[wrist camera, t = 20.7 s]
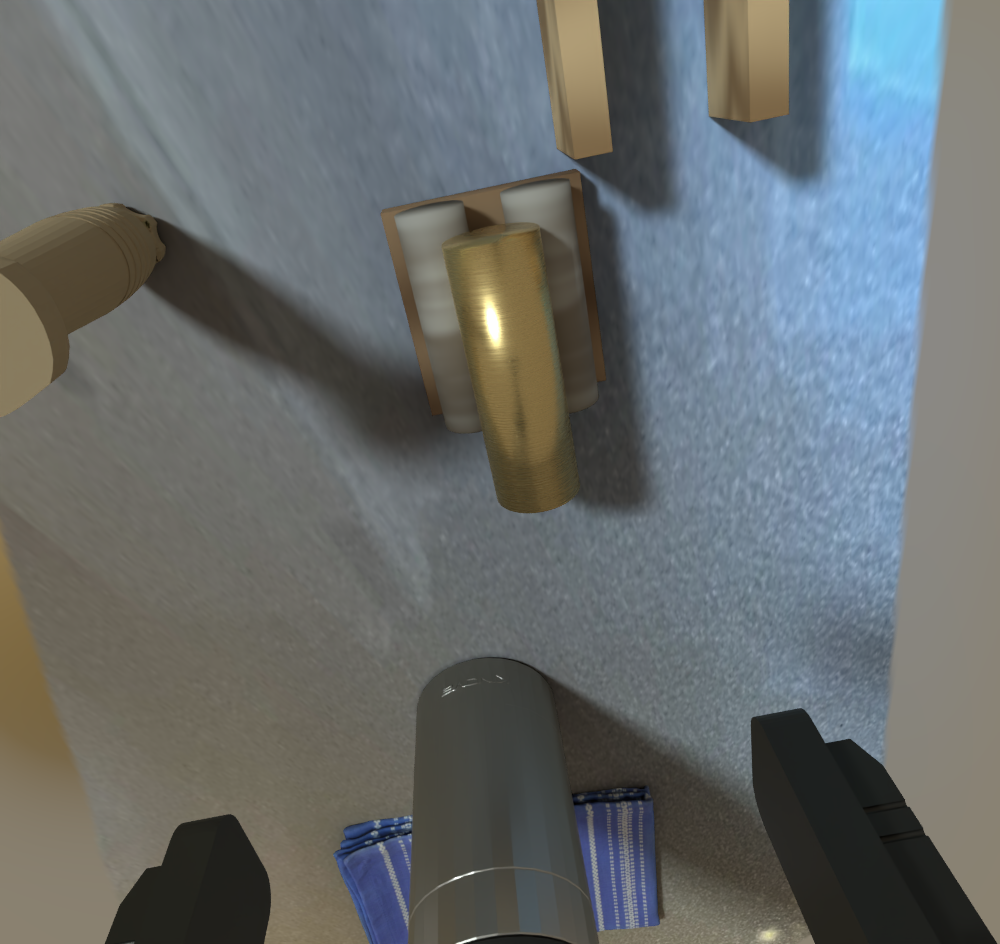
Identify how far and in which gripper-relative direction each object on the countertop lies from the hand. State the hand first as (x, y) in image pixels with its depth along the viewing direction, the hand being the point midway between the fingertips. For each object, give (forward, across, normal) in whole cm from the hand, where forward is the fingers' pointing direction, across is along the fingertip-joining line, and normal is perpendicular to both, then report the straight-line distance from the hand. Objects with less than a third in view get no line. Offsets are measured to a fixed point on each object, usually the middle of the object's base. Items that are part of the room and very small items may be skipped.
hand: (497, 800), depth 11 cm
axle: (+23, -2, +2) cm, 23 cm away
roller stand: (+28, -2, 0) cm, 28 cm away
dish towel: (+29, +6, +45) cm, 54 cm away
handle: (+28, +14, -6) cm, 32 cm away
